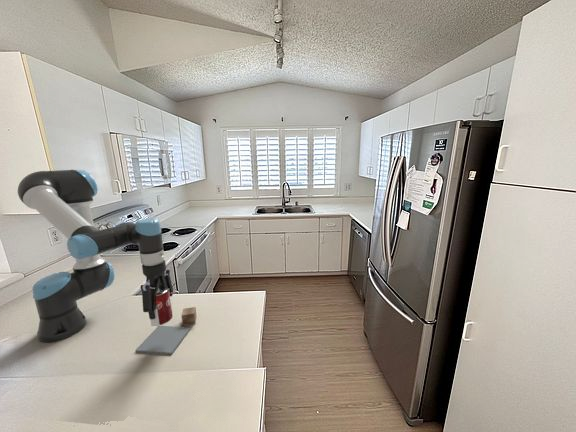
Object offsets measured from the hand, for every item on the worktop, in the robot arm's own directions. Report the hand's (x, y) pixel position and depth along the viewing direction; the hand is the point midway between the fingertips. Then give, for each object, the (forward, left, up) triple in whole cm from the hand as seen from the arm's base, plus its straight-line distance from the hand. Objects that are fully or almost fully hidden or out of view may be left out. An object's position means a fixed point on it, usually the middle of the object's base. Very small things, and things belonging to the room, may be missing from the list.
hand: (162, 318), depth 95 cm
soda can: (0, 0, -1) cm, 1 cm away
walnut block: (+4, +12, -9) cm, 16 cm away
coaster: (0, 0, -9) cm, 9 cm away
